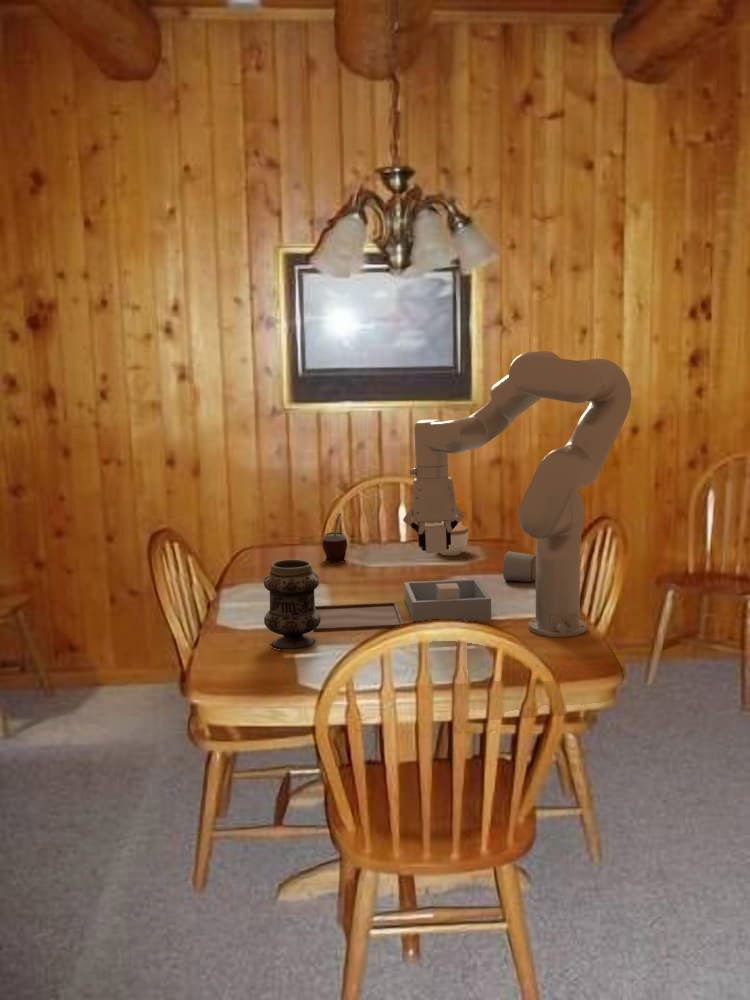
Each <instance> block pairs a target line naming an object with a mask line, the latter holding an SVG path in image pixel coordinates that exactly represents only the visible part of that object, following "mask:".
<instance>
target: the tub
mask: <svg viewBox="0 0 750 1000" xmlns="http://www.w3.org/2000/svg"><path fill="white" fill-rule="evenodd" d="M446 583H457V585H458V587H459V599H449V600H436V584H446ZM403 584H404V585H403V586H404V587H403V590H404V592H403V593H404V598H403V599H404V602H405V605H406V607H407V610H408V612H409V615H410V618H411V619H412V620H411V621H412V622H425V621H424V620H430V621H432V620H431V619H451V620H461V619H463V620H464V619H465V620H468V621H467V622H474V621H475V620H477V621H479V622H480V621H492V598H491V596H490V595H489V594H488V592H487V591H486V590H485V588H484V586H482V584H481V583H480V581H479V580H478V579H477V578H476V579H475V578H472V579H471V578H470V579H469V578H467V579H448V580H447V579H446V580H424V581H405V582H403ZM477 621H475V622H477Z"/></svg>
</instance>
